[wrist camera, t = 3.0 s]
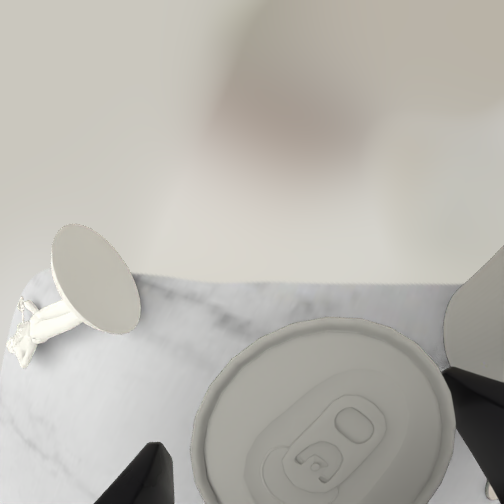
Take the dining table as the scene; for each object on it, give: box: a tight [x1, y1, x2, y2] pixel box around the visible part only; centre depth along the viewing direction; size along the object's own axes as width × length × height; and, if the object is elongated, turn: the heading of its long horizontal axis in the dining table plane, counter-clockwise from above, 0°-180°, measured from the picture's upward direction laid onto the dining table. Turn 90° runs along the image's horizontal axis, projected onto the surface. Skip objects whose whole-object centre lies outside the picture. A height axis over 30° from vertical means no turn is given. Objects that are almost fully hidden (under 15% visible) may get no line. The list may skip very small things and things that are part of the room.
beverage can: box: [190, 317, 456, 504], centre depth 9 cm, size 5×5×12 cm
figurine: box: [6, 224, 141, 369], centre depth 16 cm, size 7×7×12 cm
